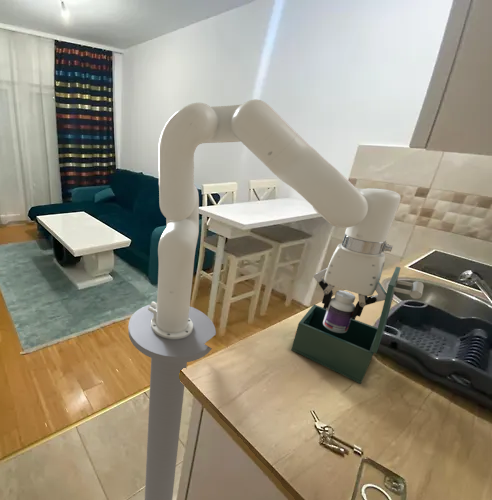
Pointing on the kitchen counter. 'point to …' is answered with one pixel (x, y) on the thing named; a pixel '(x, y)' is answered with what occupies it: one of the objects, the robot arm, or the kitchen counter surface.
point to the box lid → (414, 293)
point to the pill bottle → (339, 312)
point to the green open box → (335, 344)
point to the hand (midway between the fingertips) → (339, 311)
